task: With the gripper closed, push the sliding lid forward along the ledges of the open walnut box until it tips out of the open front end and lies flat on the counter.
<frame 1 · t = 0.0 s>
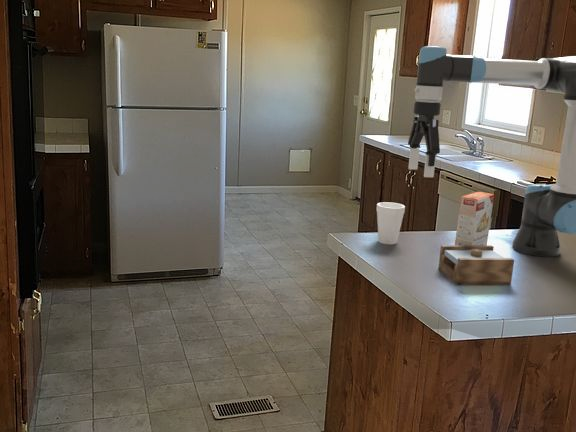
hand: (420, 173, 180), 28 cm above the worktop, fingers open, 13 cm apart
lid: (475, 260, 175), point 5 cm above the worktop, touching box
foam cup: (387, 242, 208), on the worktop
cracker box: (469, 258, 194), on the worktop
box: (473, 276, 176), on the worktop
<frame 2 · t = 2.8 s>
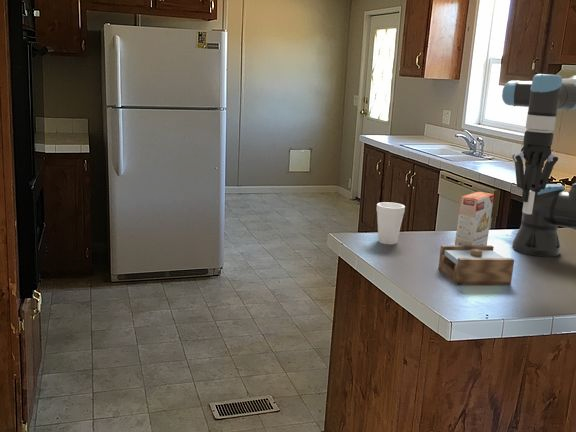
hand: (526, 213, 173), 19 cm above the worktop, fingers closed
nothing on the worktop moved.
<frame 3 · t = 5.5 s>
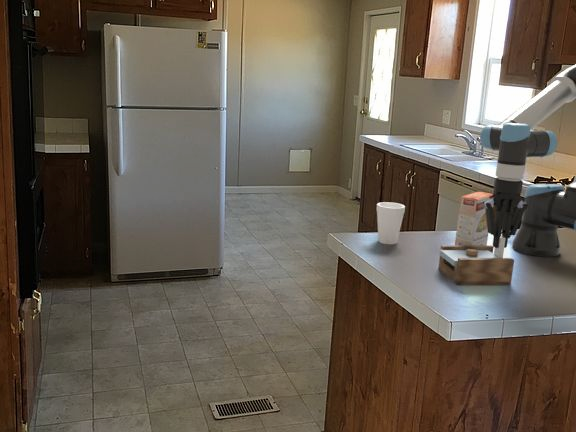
hand: (497, 258, 175), 6 cm above the worktop, fingers closed
lid: (470, 260, 174), point 5 cm above the worktop, touching gripper
everything else where it was.
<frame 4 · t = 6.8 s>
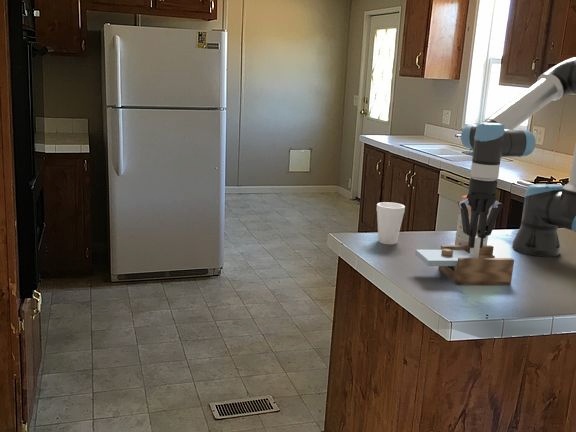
hand: (473, 258, 174), 6 cm above the worktop, fingers closed
lid: (446, 260, 173), point 5 cm above the worktop, touching gripper
everything else where it was.
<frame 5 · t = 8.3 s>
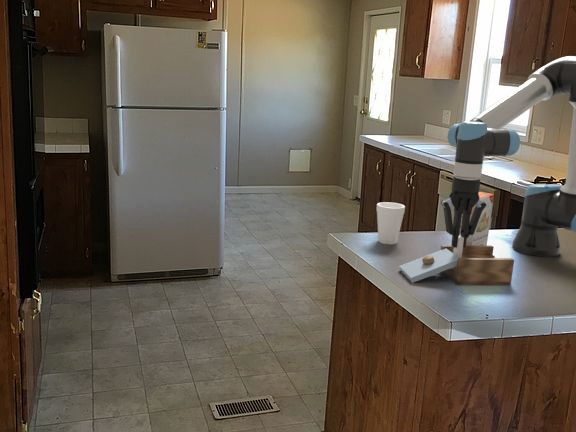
hand: (456, 257, 173), 6 cm above the worktop, fingers closed
lid: (430, 267, 173), point 3 cm above the worktop, tilted 22°, touching gripper
everything else where it was.
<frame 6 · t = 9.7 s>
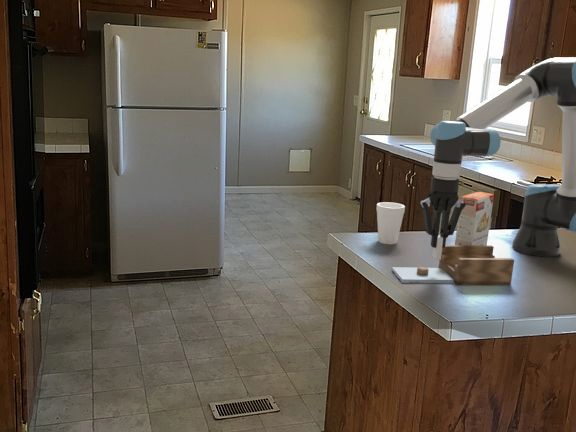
hand: (436, 258, 173), 6 cm above the worktop, fingers closed
lid: (421, 278, 174), on the worktop
everything else where it was.
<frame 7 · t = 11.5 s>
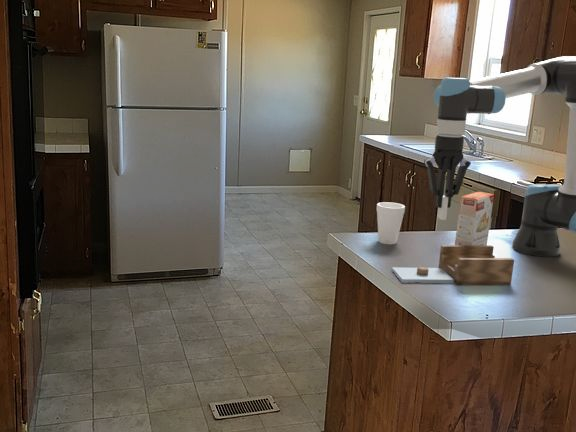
hand: (441, 218, 170), 17 cm above the worktop, fingers closed
nothing on the worktop moved.
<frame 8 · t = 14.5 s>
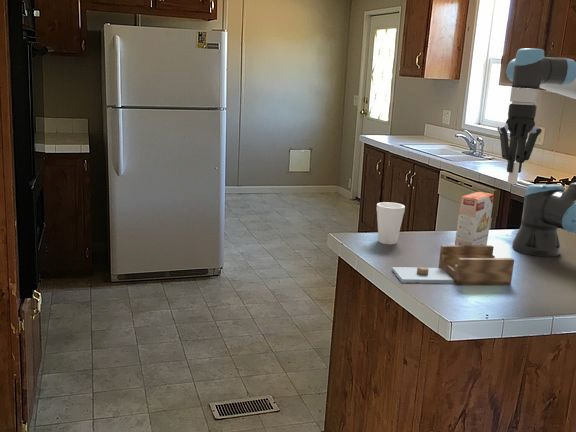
hand: (512, 183, 180), 26 cm above the worktop, fingers closed
nothing on the worktop moved.
at the end: lid inside the target area (4.3 cm from its centre), on the worktop; lid on the worktop; lid tilted 0° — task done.
